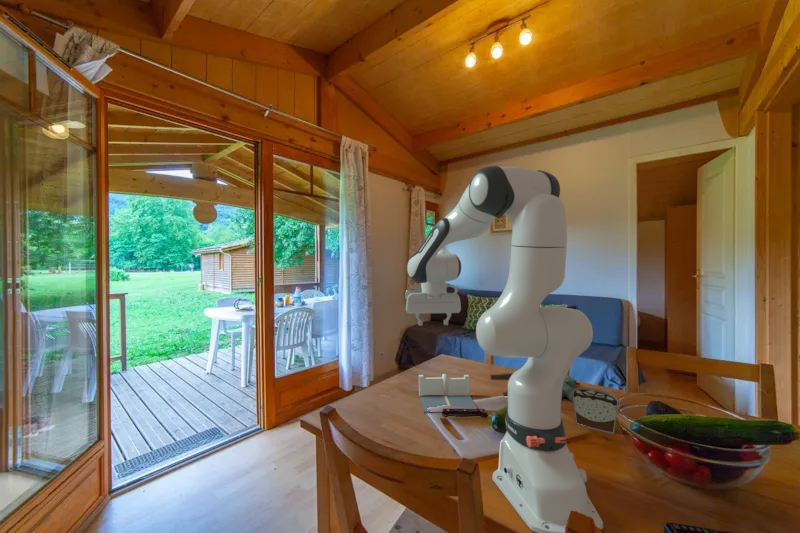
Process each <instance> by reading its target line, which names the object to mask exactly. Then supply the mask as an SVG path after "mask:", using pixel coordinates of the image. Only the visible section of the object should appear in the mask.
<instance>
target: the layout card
mask: <svg viewBox="0 0 800 533" xmlns="http://www.w3.org/2000/svg"><path fill="white" fill-rule="evenodd" d="M417 389H418V390H419V386H418V388H417ZM419 397H420V402H421V407H422V409H423V414H427V413H426V412H430V411H431V410H428V409H427V408H429V407H437V406H442V405H448V406H460V407H465V408H466V407H467V408H478V407H477V405H476V403H475V402H474V400H473V398H472V397H471V395H470V394H469V395H456V396H449V395H448V385H447V395H424V396H419ZM427 410H428V411H427Z"/></svg>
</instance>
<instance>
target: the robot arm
mask: <svg viewBox="0 0 800 533" xmlns="http://www.w3.org/2000/svg"><path fill="white" fill-rule="evenodd" d="M560 193H561V185H560V183H559V180H558V179H557V177H556V175H555V176H554V175H553V174H552V173H550V172H547V171H545V170H539V169H538V170H535V169H530V168H525V167H524V168H523V167H521V166H509V165H508V166H498V165H490V166H486V167H482V168H480V169H478V170H477V171H476V172H475V173H474V174H473V175H472V177H471V180H470V182H469V184H468V186H466V188H465V190H464V191H463V194H462V195H461V197H460V199H459V201H458V202H457V204H456V206H455V207H454V208H453V209H452V210H451V211H450V212H449V213H448V214H446V216H444V217H443V218H441V219H440V220H438V221H437V222H436V223H435V225H433V227H432V229H431V230H430V231H429V233H428V234H427V235H426V237H425V239H424V240H423V242H422V243H421V245H420V246H419V247H418V248H417V250H416V252H414V253H413V254H412V255H411V256H410V258H409V259H408V261H407V266H406V271H407V275H408V277H409V279H410V280H412V281H413V282H415V283H416V284H419V285H420V287H416V288H413V287H412V288H411V287H410V288H409V289H406V290H405V291H404V298H405V300H406V304H405V311H406V313H407V314H409V315H411V314H415V318H416V319H417V321H418V322H417V323H418V324H417V325H418V326H423V323H424V322H423V319H420V314H446V318H445V319H443V325H444V326H448V325H449V320H450V319H451V317H452V314H459V313H460V312H461V311H462V305H461V302H462V301H461V298H460V295H459V294H458V290H459V288H457V287H456V286H455V285H451V284H449V283H446V282H451V281H456V280H457V279H458V278H459V276H460V275H461V272H462V262H461V259H460V258H459V256H457V255H456V253H455V254H454V253H452V252H450V251H448V250H446V249H445V247H446V246H447V245H449V244H453V243H455V242H460V241H466V240H471V239H475V238H478V237H480V236H481V235H483V234H484V233H485V232H486V231H487V230H488V229H489V228H490V227H491V226H492V224H493V222H494V220H495V219H496V218H497V219H500V218H502V217H503V216H506V217H507V218H508V219H509V221H510V222H511V228H512V230H511V232H512V233H511V242H510V243H511V244H510V245H511V246H510V260H509V269H508V270H509V271H508V277H507V281H506V284H505V286H504V289H503V291H502V293H501V294H500V296H499V297H498V299H497V300H496V302H494V304H493V305H492V306H491V307H489V308H488V309H487V310H485V312H483V313H482V314H481V315H480V317H479V318H478V321H477V323H476V328H475V335H476V336H475V337H476V340H477V343H478V344H479V347H480V348H481V350H483V351H484V353H485V354H487V355H488V356H493V357H498V358H506V359H520V358H522V359H523V358H527V360H526V362H525V363H524V364H523V365H522V367H520V368H519V369H518V370H516V371H514V372H512V373H513V374H512V375H511V377H510V379H509V380H508V381H507V392H508V398H507V409H506V412H505V413H506V414H505V417H504V418H505V420H504V422H505V430H506V432H505V434H504V436H503V437H502V439H501V440H500V441H499V453H498V466H497V467H498V468H497V469H495V470H494V471H493V473H492V478H491V479H492V481H493V482H494V483H495V485H496V486H497V487H498V488H499V490H500V491H501V492H502V494H503V495H504V496H505V498H506V500H508V502H509V503H510V504H511V506H512V507H513V509H514V510H515V511H516V512H517V514H518V515H519V517H520V518H521V519H522V520H523V522H524V523H525V525H526V526H527V527H528V528H529V529H530V530H531V531H532V532H535V533H565V527H566V523H567V520H568V517H569V514H570V511H572V510H573V511H577V512H579V513H582V514H585V515H587V516H590V517H592V518H593V519H594V521H595V524H596V526H597V527H598V528H600V529H602V530H603V529H604V522H603V520H602V518H601V516H600V514H599V513H598V511H597V510H596V508H595V505H594V504H593V503H592V500H591V499H590V497H589V496H588V492H587V487H586V484H585V483H587V481H588V478H587V477H588V476H587V473H586V471H585V470H584V469H583V468H578V466H577V464H576V462H575V455H574V453H573V452H571V451H570V450H569V448H568V446H567V443H568V441H567V439H568V437H567V436H566V429H565V426H564V422H563V420H562V398H563V397H562V388H563V383H564V380H565V377H566V375H568V372H569V370H570V369H571V367H572V366H573V364H574V362H575V361H576V359H577V358H578V357H579V356H580V355H581V354H582V353H584V352H585V351H586V350H588V349H589V347H590V346H591V344H592V341H593V337H594V330H593V325H592V323H591V320H590V319H589V318H588V316H587V315H586V314H585V313H584V312H583V311H581V310H579V309H575V308H570V307H564V306H557V305H556V306H541V305H542V303H543V302H544V300H545V299H546V298H547V296H548V295H550V294H552V293H553V292H555V291H557V290H559V289H560V287H561V286H562V285H563V283H564V281H565V276H566V273H565V272H566V262H567V246H568V225H567V224H568V223H567V215H566V208H565V203H564V201H562V199H561V198H560V195H561V194H560Z"/></svg>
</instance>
